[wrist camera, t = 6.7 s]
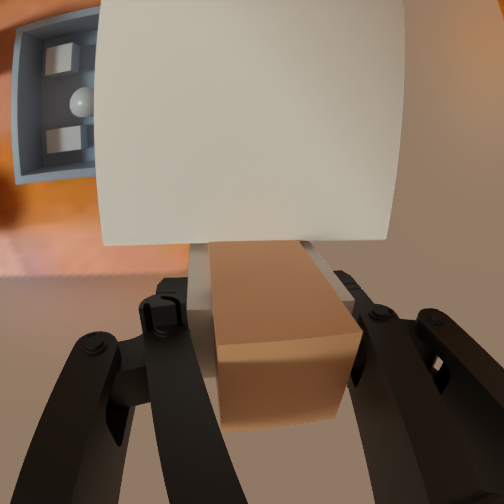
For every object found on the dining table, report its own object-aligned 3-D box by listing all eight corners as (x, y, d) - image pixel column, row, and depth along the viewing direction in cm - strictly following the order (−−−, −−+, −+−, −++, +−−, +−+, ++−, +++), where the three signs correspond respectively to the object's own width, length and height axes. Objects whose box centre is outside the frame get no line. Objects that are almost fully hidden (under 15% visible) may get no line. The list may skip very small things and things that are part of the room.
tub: (41, 37, 23) (16, 27, 18) (133, 19, 25) (120, 2, 19) (41, 172, 29) (15, 185, 24) (130, 164, 31) (116, 174, 26)
